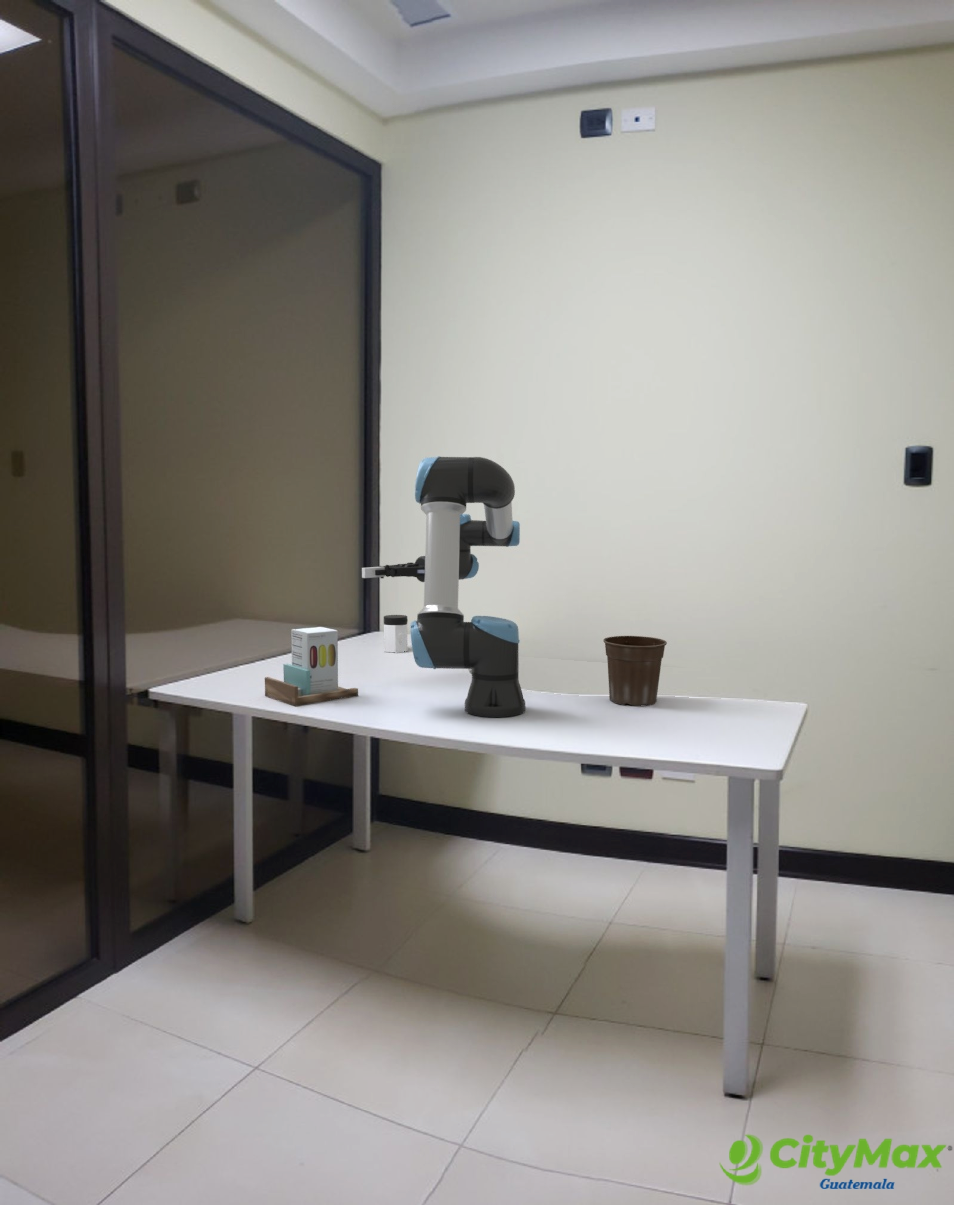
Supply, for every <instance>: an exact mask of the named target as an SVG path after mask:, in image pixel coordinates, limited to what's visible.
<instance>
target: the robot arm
mask: <svg viewBox="0 0 954 1205" xmlns="http://www.w3.org/2000/svg"><path fill="white" fill-rule="evenodd" d="M515 487H516V486H515V483H514V480H513V478H512V476H511V475H510V473H509V472H508V471H507V470H506V469H505V468H504V467H503V466H502V465H500V464H499V463H497V462H495V461H493V460H492V459H489V458H486V457H482V456H473V457H472V456H470V457H467V456H462V457H461V456H434V457H425V458H423V459H422V460H421V461H420V463H419V465H418V468H417V472H416V479H415V485H414V488H415V489H414V499H415V502H416V503H418V504H419V505H420V510H421V511H422V512H423V513H424V514H425V515H426V516H425V517H426V522H425V525H426V527H425V554H424V555H423V556H422V555H421V556H419V557H418V558H416V560H415V562H406V563H397V564H391V565H390V564H385V565H379V566H373V567H372V566H371V567H361V578H362V579H370V578H380V579H384V578H385V577H387V578H389V577H391V578H398V577H400V578H401V577H407V578H411V577H412V578H416V579H417V580H418V581H419V582H420V583H424V590H423V608H422V609H421V610H420V611H418V613H417V619H416V620H413V621H411V623H410V642H411V649H412V650H411V651H412V655H413V659H414V662H415V664H416V665H417V666H418V667H420V668H424V669H433V670H436V669H447V670H448V669H449V670H450V669H451V670H452V669H453V670H455V669H456V670H464V669H465V670H467V669H468V670H471V682H470V685H469V688H468V692H467V696H466V698H465V701H464V711H465V713H466V714H470V715H471V716H473V715H474V716H476V717H485V718H506V717H507V718H509V717H515V716H519V715H522V714H525V712H526V701H525V698H524V695H523V694H524V693H523V691H522V687H521V684H520V681H519V672H520V671H519V669H520V668H519V666H520V664H519V654H520V653H519V644H520V642H521V641H520V638H519V637H520V636H519V633H520V632H519V627H518V624H517V623H516V622H514V621H512V620H510V619H506V618H503V617H498V616H497V617H496V616H490V615H474V616H472V617H471V620H470V621H464V619H465V618H464V617H465V615H464V613H463V612H462V611H461V610H460V609H459V580H462V581H463V580H467V579H472V578H474V577H476V575H477V574H478V571H479V567H480V565H479V564H480V563H479V562H478V558H477V556H476V555H475V554H473V553H472V552H471V547H506V548H508V547H518V546H519V545H520V542H521V541H520V540H521V539H520V538H521V535H520V532H521V530H520V527H521V524H520V522H519V521H517V520H513V506H512V505H513V504H512V502H513V499H514V498H515V494H516V493H515V492H516V490H515ZM479 503H480V504H483V509H484V517H485V520H477V519H476V520H474V519H473V520H472V518H471V517H472V516H471V515H470V514H469V513H468V514H467V513H465V512H466V511H467V504H479Z"/></svg>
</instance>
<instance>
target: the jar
mask: <svg viewBox="0 0 954 1205" xmlns="http://www.w3.org/2000/svg"><path fill="white" fill-rule="evenodd" d="M403 651H407V652H408V616H407V615H404V614H387V615H384V616H383V653H389V652H401V653H404V652H403Z"/></svg>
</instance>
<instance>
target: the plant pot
mask: <svg viewBox="0 0 954 1205" xmlns="http://www.w3.org/2000/svg"><path fill="white" fill-rule="evenodd" d="M667 642H668V641H667V640H664V639H661V638H659V637H652V636H643V635H642V636H641V635H640V636H639V635H614V636H608V637H605V638H604V639H603V643H604V648H605V656H606V657H607V658H606V659H607V661H606V662H607V674H608V676H607V677H608V690H609V691H608V692H609V694H608V695H609V696H608V697H609V701H611V702H612V703H614V704H618V705H623V706H625V705H627V704H628V705H630V706H634V707H635V706H637V707H638V706H639V707H642V706H641V705H646V706H650V704H651V705H654V704H655V703H656V702H657V700H658V691H659V690H658V689H659V681H660V676H661V675H660V674H661V667H662V660H663V658H664V656H665V655H664V654H665V649H666V648H665V647H666V645H667V644H668V643H667ZM653 703H654V704H653Z"/></svg>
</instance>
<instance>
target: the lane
mask: <svg viewBox="0 0 954 1205" xmlns="http://www.w3.org/2000/svg"><path fill="white" fill-rule="evenodd" d="M264 696H265V697H267V696H268V697H267V698H270V699H274V700H276V701H278V700H279V702H282V703H284V704H288V705H291V706H293V707H298V706H306V705H311V704H318V703H323V702H329V701H330V702H331V701H335V700H343V699H348V698H354V697H359V688H358V687H351V688H344V687H342V686H339V685H338V690H337V691H331V692H324V693H318V694H312V695H305V696H298V686H295V685H292V684H289V683H286V682H284V680H279V679H275V678H273V677H270V676H266V677H264Z"/></svg>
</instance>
